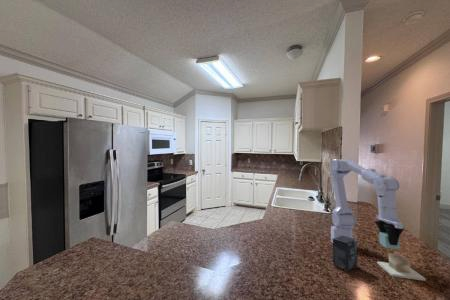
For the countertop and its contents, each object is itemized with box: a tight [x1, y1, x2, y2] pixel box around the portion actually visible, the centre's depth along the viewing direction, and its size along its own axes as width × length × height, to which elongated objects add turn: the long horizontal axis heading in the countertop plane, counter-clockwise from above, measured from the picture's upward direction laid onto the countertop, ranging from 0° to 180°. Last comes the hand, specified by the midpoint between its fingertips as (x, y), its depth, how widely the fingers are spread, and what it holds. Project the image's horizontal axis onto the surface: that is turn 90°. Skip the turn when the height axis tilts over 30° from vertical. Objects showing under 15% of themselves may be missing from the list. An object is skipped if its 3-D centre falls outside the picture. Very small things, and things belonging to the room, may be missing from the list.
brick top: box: [378, 231, 401, 250], centre depth 76 cm, size 4×4×4 cm
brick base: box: [387, 253, 411, 273], centre depth 73 cm, size 4×4×4 cm
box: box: [332, 235, 358, 272], centre depth 76 cm, size 8×6×11 cm
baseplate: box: [376, 261, 426, 282], centre depth 73 cm, size 10×10×1 cm
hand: (389, 242), depth 75 cm, fingers closed on brick top, 4 cm apart
